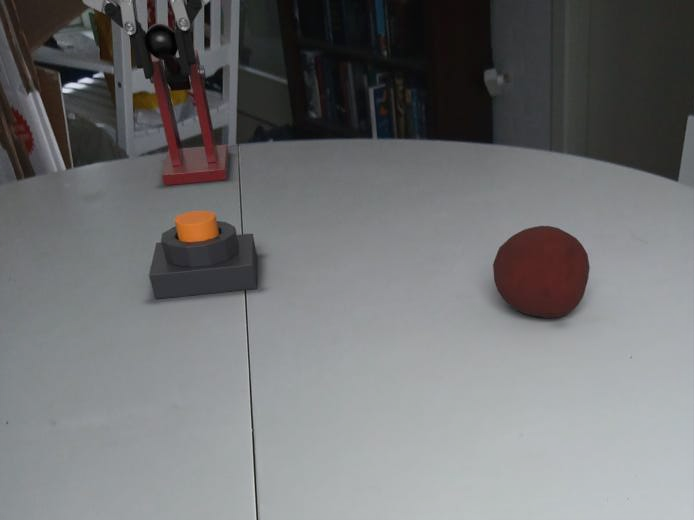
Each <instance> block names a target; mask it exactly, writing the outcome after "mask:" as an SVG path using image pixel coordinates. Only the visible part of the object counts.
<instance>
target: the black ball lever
mask: <svg viewBox="0 0 694 520" xmlns="http://www.w3.org/2000/svg"><path fill="white" fill-rule="evenodd" d="M174 33H175V30H173V29H172V28H171V27H170V26H169V25H167V24H164V23H155V24H154V23H153V24H152V25H151V26H149V27H148V29H147V30H146V37H145V41H146V46H147V48H148V50H149V52H150V53H151V55H153V56H154V57H156V58H158V59H160V60H163V65H164V69H165V74H166V80H167V83H168V87H169V90H170V91H171V92H177V91H178V92H179V91H188V90H192V85H191V80H190V76H185V75H183V72H182V67H181V63H180V58H179V56H178V57H177V56H176V54H177V53H178V49H177V44H176V39H175V34H174Z"/></svg>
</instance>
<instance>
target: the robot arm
mask: <svg viewBox="0 0 694 520" xmlns="http://www.w3.org/2000/svg"><path fill="white" fill-rule="evenodd" d="M81 1H82V3H83V5H85V6H87V7H89V8H91V9H93V10H95V11H97V12H99V13H102V14H104V15H106V16H107V17H108V18H109V19H111V21H113V22H114V23H115V24H116V25H118V26H119V27H120V28H122V30H123V31H124V32H125V33H126V34H127V35H128V36H129V40H130V45H131V50H132V54H133V58H134V61H135V67H136V69H138V70H140V69H142V71H143V74H144V78H145V80H150V79H151V77H153V74H154V66H153V62H152V58H151V55H152V54H151V53H150V52H149V50H148V48H147V46H146V41H145V37H146V33H147V31H146V30H144V28H143V27H142V23H141V22H139V19H138V17H139V16H138V10H137V0H119V3H117V2H116V1H114V0H81ZM211 1H212V0H188V1H186V0H169V2H170V6H171V8H172V11H173V15H174V19H175V23H174V25H175V30H174V34H175V39H176V44H177V49H178V50H177V53H178V57H179V58H180V63H181V67H182V72H183V75H185V76H189V77H190V75H191V71H192V68H191V64H196V57H195V52H194V50H195V48H194V43H193V38H192V33H191V28H190V27H191V25H192V24H193V22H194V20H195V19H196V18H197V16H198V14H199V12H200V11H201V9H203V8H204V7H205V6H206V5H208V4H209V3H210V2H211Z"/></svg>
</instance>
